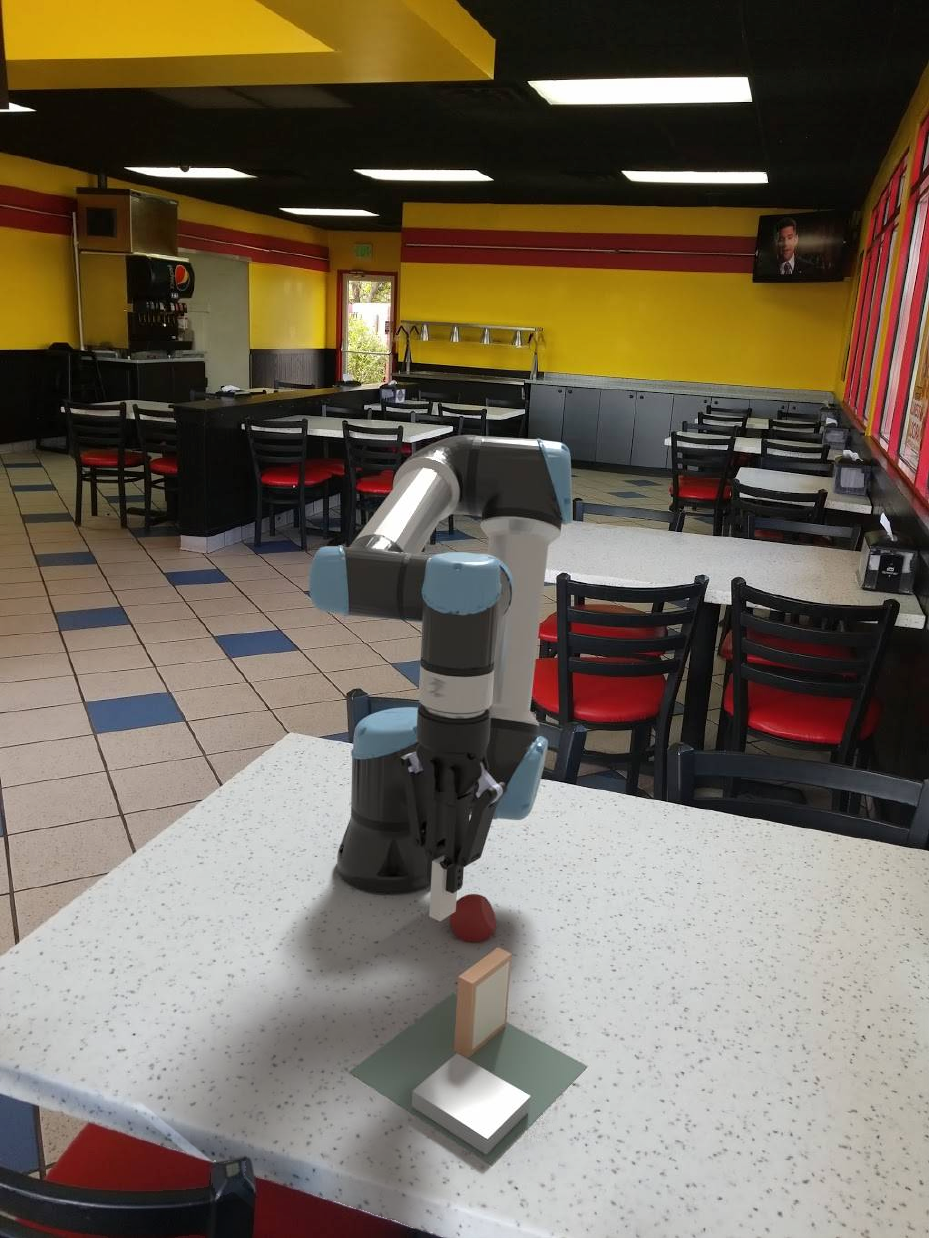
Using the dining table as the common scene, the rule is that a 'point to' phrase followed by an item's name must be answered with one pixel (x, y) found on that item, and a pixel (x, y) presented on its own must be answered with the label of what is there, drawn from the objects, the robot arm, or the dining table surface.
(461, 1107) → the white flat block
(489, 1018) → the terracotta tile
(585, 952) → the dining table surface
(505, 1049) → the mat
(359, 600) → the robot arm
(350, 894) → the dining table surface
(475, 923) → the fruit
